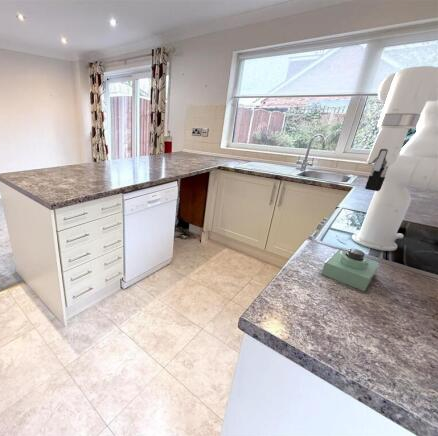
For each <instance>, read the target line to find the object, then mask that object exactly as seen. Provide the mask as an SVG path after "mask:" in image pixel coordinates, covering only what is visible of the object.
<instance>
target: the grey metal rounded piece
mask: <svg viewBox="0 0 438 436" xmlns="http://www.w3.org/2000/svg"><path fill="white" fill-rule="evenodd" d="M347 251H348V253H347V255H346V256H347V257H349V258H351V259H354V260H358V261H362V260H363V258H364V256H366V254H365V252H364V251H362V250H360V249H357V248H348V250H347Z"/></svg>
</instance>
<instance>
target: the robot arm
mask: <svg viewBox="0 0 438 436" xmlns="http://www.w3.org/2000/svg"><path fill="white" fill-rule="evenodd" d="M377 97H378V99H379V101H380V102H382V103H384V106H383V109H382V112H381V114H380V116H379V117H380V118H379V120H378V123H377V125H376V127H377V128H379V131H378V132H377V133H378V134H377V135H376V138H375V140H374V142H373V145H372V148H371V150H370V153H369V154H368V156H367V157H368V158H367V160H366V163H365V164H366V165H367V166H370V165H373V166H372V169H371V172H370V174H369V176H368V179H367V181H366V184H365V187H364V189H365V190H369V191H374V192H373V195H372V198H371V200H370V204H369V206H368V208H367V211H366V214H365V216H364V219H363V222H362V224H361V227H360V229H359V232H355V233H353V234H352V236H351V239H352V240H353V241H354V242H355V243H356V244H359V245H360V246H363V247H366V248H370V249H373V250H377V251H382V252H393V251H396V250H397V249H398V244H397V243H396V242H395V240H400V239H401V240H402V239H404V237H405V236H404V234H403V233H399V232H398V231H399V229H400V227H401V225H402V223H403V221H404V218H405V216H406V214H407V211H408V209H409V207H410V205H411V203H412V202H411V201H412V196H411V194H410V192H409V190H408V188H414V189H418V190H419V189H420V190H426V191H432V192H438V66H437V67H436V66H432V65H423V66H421V65H419V66H412V67H411V66H410V67H405V68H403V69H400V70H398V71H397V72H393V73H391V74H389V75H388V76H386V77H385V78H384V79H383V81H382V82H381V83H380V85H379V87H378V91H377ZM410 129H416V132H415V133H414V134H413V135H412V137H411V138H410V139H409V140H408V141H407V142H406V144H404V143H405V140H406V138H407V135H408V133H409V131H410ZM403 145H404V146H403Z"/></svg>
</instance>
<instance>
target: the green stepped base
mask: <svg viewBox="0 0 438 436" xmlns="http://www.w3.org/2000/svg"><path fill="white" fill-rule="evenodd" d="M347 253H348V250H341V249H337V250H336V251H335V252H333V254H332V255H330V257H329V258H328V259H326V261H325V262H324V265H323V267H322V270H321V273H320V275H323V276H324V277H328V278H330V279H332V280H335V281H337V282H339V283H342V284H345V285H347V286H350V287H352V288H355V289H357V290H360V291H362V292H365V291H366V290H367V288H368V286H369V285H370V283H371V282H372V280H373V278H374V276H375V274H376V272H377V271H378V268H379V266H380V262H377V261H374V260H372V259H370V258H369V257H367V256H366V255H364V258H363V260H362V261H358V260H354V259H351V258H349V257H347V256H346V255H347Z"/></svg>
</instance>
